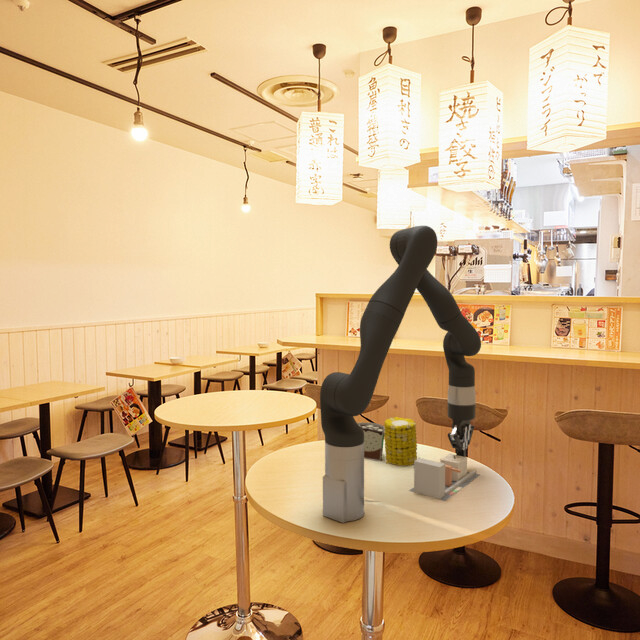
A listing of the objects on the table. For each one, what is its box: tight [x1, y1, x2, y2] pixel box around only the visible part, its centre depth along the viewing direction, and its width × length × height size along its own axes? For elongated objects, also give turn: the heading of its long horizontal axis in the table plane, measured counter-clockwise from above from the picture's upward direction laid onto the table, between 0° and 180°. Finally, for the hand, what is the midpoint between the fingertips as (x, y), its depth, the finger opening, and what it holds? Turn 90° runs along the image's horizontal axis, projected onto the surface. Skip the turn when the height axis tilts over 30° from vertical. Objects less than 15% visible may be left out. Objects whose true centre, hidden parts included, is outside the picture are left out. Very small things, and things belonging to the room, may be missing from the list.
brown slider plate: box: [445, 465, 461, 486], centre depth 128 cm, size 1×7×5 cm, turn 50°
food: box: [383, 416, 418, 467], centre depth 147 cm, size 15×12×10 cm
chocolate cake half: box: [357, 422, 385, 462], centre depth 156 cm, size 12×6×10 cm, turn 58°
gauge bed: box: [408, 457, 481, 502], centre depth 130 cm, size 22×10×10 cm, turn 140°
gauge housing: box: [439, 453, 468, 482], centre depth 133 cm, size 9×5×5 cm, turn 140°
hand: (461, 461), depth 138 cm, fingers closed
